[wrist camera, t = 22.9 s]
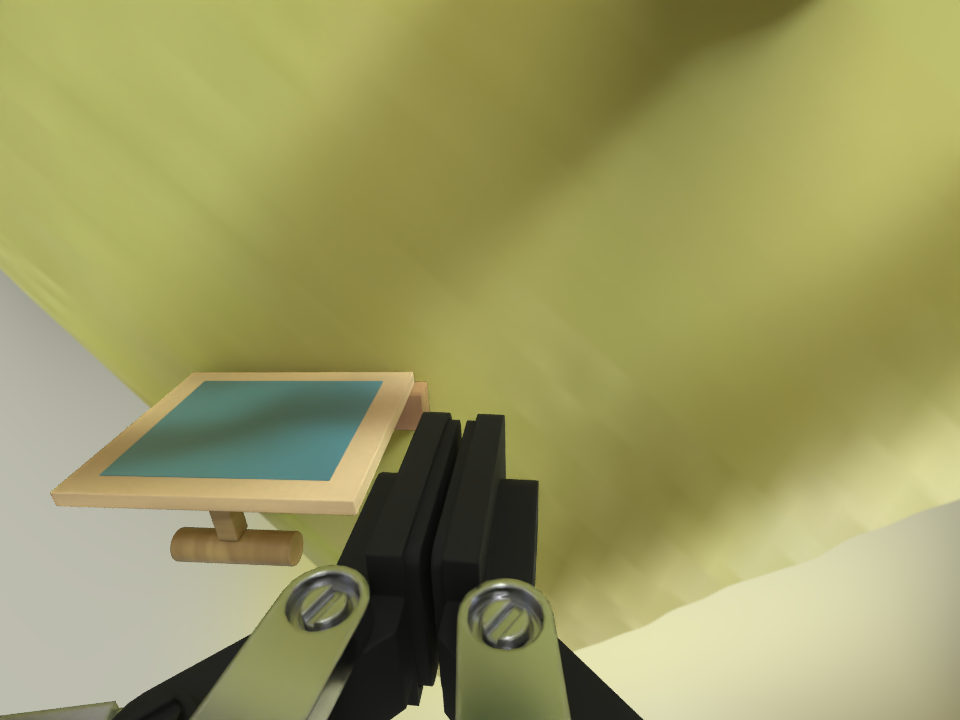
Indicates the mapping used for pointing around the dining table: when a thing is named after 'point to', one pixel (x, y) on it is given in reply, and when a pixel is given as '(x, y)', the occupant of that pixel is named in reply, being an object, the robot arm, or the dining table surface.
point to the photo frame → (248, 456)
